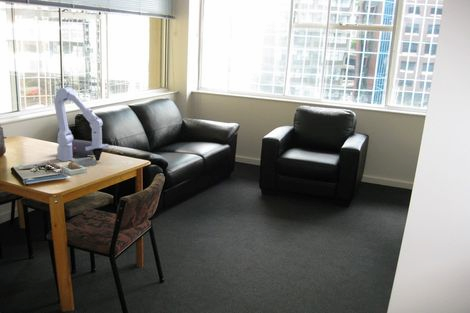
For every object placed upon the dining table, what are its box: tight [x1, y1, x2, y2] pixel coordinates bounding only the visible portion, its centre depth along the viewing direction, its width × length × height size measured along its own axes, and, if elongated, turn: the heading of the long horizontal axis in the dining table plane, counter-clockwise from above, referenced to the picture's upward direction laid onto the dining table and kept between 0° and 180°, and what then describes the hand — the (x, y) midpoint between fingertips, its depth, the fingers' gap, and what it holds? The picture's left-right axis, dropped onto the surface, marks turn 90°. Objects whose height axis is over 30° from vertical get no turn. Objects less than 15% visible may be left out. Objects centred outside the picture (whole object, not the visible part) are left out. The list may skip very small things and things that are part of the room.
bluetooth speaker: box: [72, 139, 95, 158], centre depth 288 cm, size 23×9×10 cm, turn 76°
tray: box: [61, 165, 88, 176], centre depth 255 cm, size 10×9×2 cm
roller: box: [67, 161, 80, 170], centre depth 254 cm, size 6×4×4 cm, turn 47°
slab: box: [70, 156, 98, 167], centre depth 270 cm, size 9×12×3 cm
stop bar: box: [46, 161, 61, 169], centre depth 256 cm, size 12×2×3 cm, turn 47°
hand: (97, 160), depth 276 cm, fingers closed
